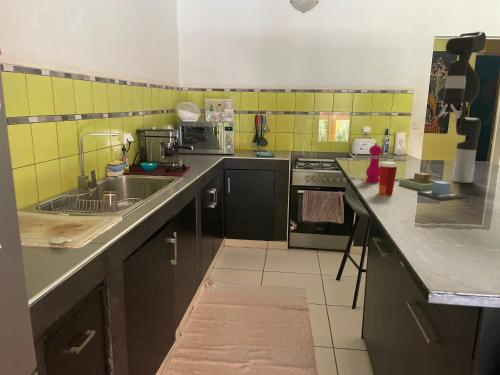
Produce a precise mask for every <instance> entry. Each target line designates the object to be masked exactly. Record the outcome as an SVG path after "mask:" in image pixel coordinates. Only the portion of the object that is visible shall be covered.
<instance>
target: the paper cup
mask: <svg viewBox="0 0 500 375" xmlns="http://www.w3.org/2000/svg"><path fill="white" fill-rule="evenodd" d="M379 167H380V175H379V177H378V178H379V182H378V194H379V195H382V196H392V195H393V191H394V186H395V181H396V180H395V179H396V174H397V169H398V164H397V162H393V161H380V162H379Z"/></svg>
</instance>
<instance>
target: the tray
mask: <svg viewBox="0 0 500 375" xmlns="http://www.w3.org/2000/svg"><path fill="white" fill-rule="evenodd" d="M435 181H436V180H432V179H430V182H429V184H419V183H415V182H414V177H412V178H411V177H410V178H409V177H408V178H399V183H398V186H401V187H405V188H408V189H413V190H417V191H427V190H432V185H433V182H435Z"/></svg>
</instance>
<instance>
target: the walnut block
mask: <svg viewBox="0 0 500 375" xmlns="http://www.w3.org/2000/svg"><path fill="white" fill-rule="evenodd" d="M413 178H414V182H415V183H419V184H429V182H430V180H431V174H430V173H425V172H414V175H413Z"/></svg>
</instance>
